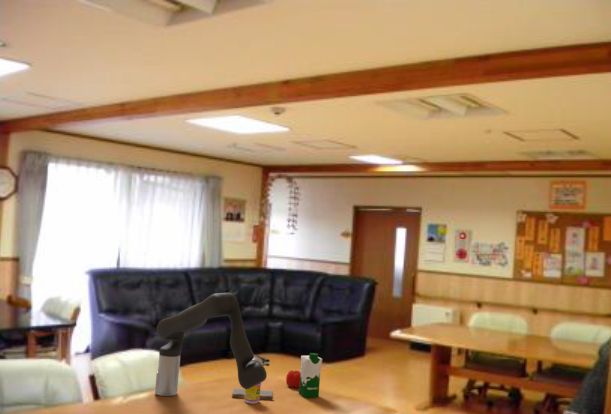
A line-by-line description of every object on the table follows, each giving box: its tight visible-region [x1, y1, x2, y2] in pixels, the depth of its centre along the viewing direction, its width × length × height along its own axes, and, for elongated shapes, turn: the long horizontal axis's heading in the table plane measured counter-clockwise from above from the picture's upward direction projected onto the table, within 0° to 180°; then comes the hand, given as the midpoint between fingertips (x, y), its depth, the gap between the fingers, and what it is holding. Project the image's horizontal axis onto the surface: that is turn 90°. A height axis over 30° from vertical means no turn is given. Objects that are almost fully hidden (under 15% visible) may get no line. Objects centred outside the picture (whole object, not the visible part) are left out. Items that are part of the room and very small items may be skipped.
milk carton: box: [298, 352, 323, 399], centre depth 283 cm, size 9×9×20 cm
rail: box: [231, 392, 273, 401], centre depth 271 cm, size 18×2×2 cm, turn 93°
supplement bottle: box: [243, 382, 262, 405], centre depth 266 cm, size 7×7×13 cm
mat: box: [232, 388, 273, 397], centre depth 278 cm, size 18×10×1 cm, turn 93°
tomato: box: [285, 370, 301, 389], centre depth 297 cm, size 9×9×8 cm
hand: (255, 357), depth 258 cm, fingers closed
